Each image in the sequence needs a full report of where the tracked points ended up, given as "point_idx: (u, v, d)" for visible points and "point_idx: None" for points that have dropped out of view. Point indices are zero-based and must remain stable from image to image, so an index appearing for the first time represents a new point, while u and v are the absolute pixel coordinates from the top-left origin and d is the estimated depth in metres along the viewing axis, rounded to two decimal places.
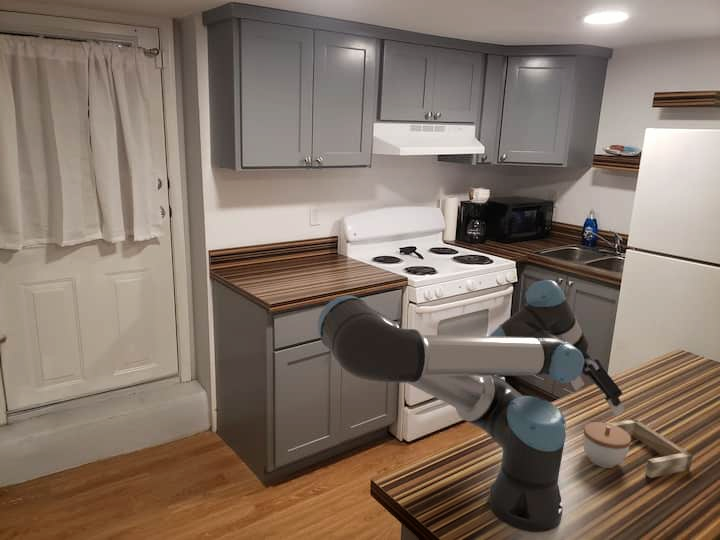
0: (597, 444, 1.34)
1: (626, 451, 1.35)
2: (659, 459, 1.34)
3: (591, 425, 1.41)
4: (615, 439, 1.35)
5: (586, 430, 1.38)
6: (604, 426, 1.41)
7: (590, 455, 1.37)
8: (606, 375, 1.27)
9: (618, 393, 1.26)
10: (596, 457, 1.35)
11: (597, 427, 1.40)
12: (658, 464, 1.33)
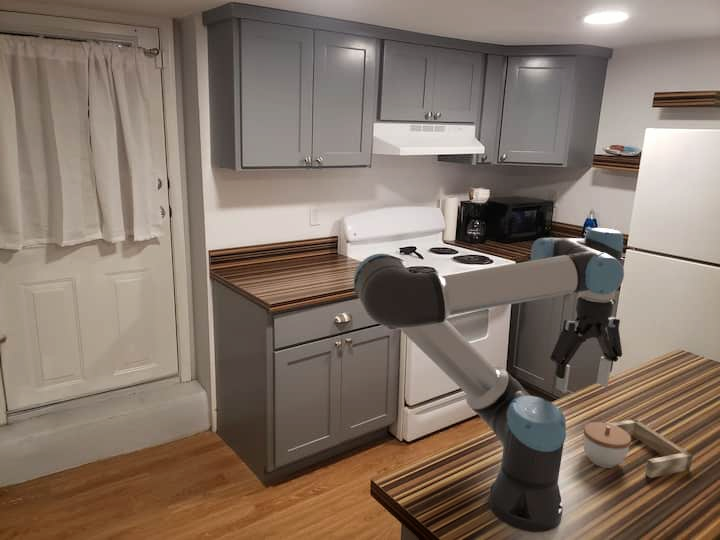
0: (597, 444, 1.34)
1: (626, 451, 1.35)
2: (659, 459, 1.34)
3: (591, 425, 1.41)
4: (615, 439, 1.35)
5: (586, 430, 1.38)
6: (604, 426, 1.41)
7: (590, 455, 1.37)
8: (565, 340, 1.25)
9: (555, 358, 1.26)
10: (596, 457, 1.35)
11: (597, 427, 1.40)
12: (658, 464, 1.33)
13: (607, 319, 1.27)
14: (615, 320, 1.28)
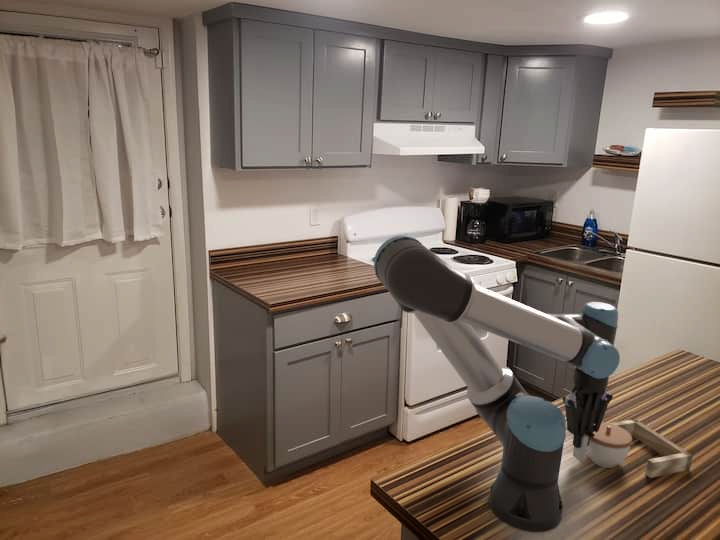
0: (598, 443, 1.35)
1: (627, 451, 1.35)
2: (659, 459, 1.34)
3: None
4: (616, 439, 1.35)
5: None
6: (605, 426, 1.41)
7: (591, 455, 1.37)
8: (571, 415, 1.31)
9: (571, 431, 1.33)
10: (597, 457, 1.36)
11: None
12: (658, 464, 1.33)
13: (604, 389, 1.32)
14: (609, 395, 1.33)
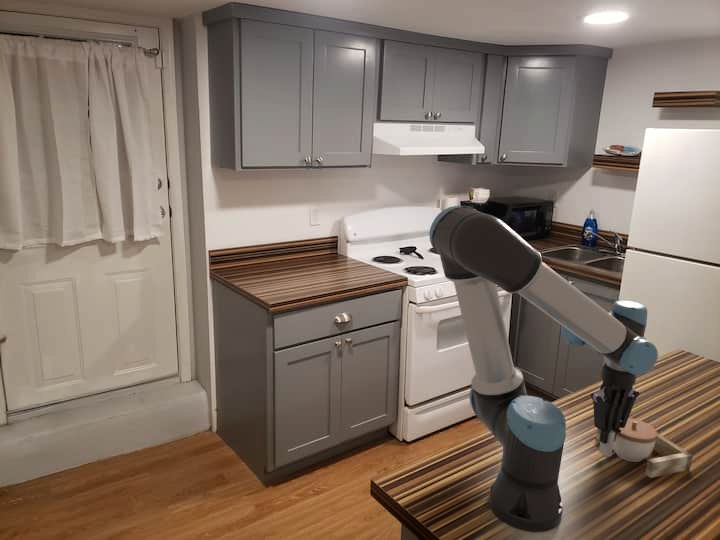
0: (626, 438, 1.37)
1: (653, 445, 1.38)
2: (659, 459, 1.34)
3: None
4: (642, 434, 1.38)
5: None
6: (630, 421, 1.44)
7: (618, 450, 1.40)
8: (599, 411, 1.34)
9: (599, 427, 1.36)
10: (624, 451, 1.38)
11: None
12: (658, 464, 1.33)
13: (632, 386, 1.35)
14: (636, 391, 1.36)
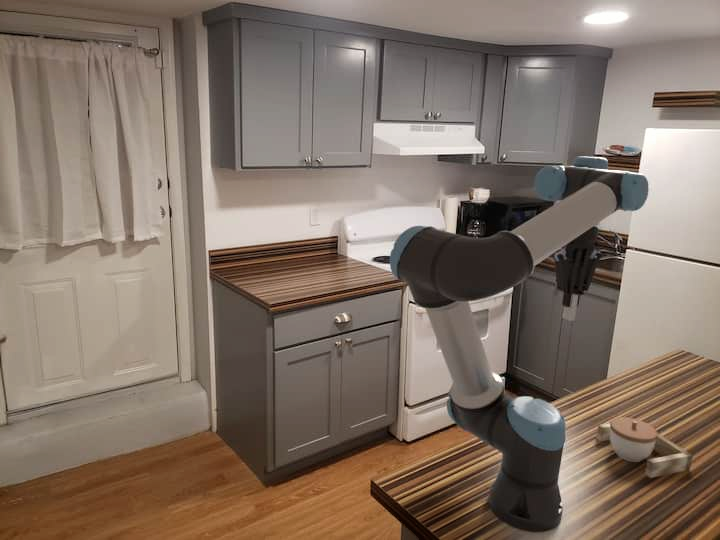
0: (625, 438, 1.37)
1: (653, 445, 1.38)
2: (659, 459, 1.34)
3: (617, 420, 1.44)
4: (642, 434, 1.38)
5: (613, 425, 1.41)
6: (630, 421, 1.44)
7: (618, 450, 1.40)
8: (560, 271, 1.32)
9: (561, 289, 1.34)
10: (624, 451, 1.38)
11: (623, 422, 1.43)
12: (658, 464, 1.33)
13: (594, 246, 1.33)
14: (599, 253, 1.35)
